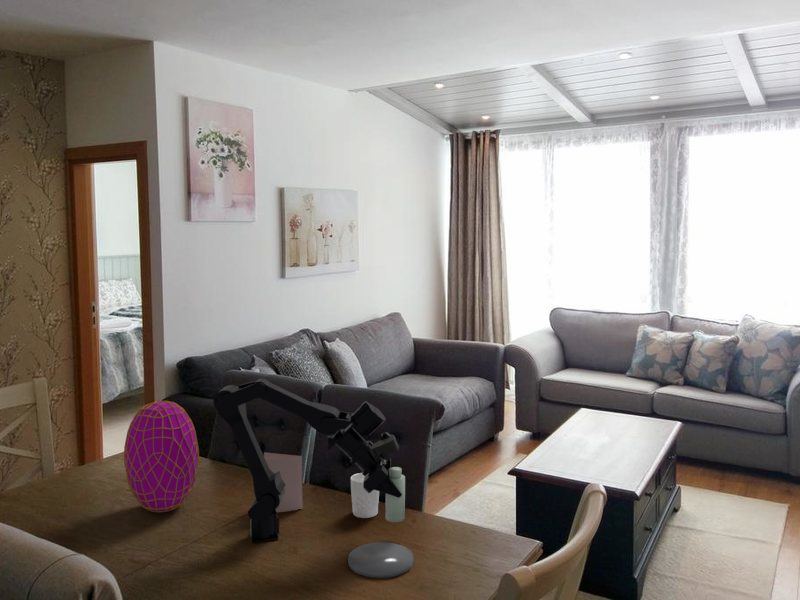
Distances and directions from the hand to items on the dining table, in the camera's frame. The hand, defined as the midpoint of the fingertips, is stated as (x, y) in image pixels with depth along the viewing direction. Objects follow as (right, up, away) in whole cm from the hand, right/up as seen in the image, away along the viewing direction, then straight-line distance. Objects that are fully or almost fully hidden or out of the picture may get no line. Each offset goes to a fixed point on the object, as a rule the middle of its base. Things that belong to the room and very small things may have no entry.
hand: (400, 492), depth 166 cm
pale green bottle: (-1, -7, +1) cm, 7 cm away
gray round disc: (-5, -13, -12) cm, 18 cm away
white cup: (-10, -11, +16) cm, 22 cm away
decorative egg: (-65, -10, +19) cm, 69 cm away
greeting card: (-33, -10, +18) cm, 39 cm away
